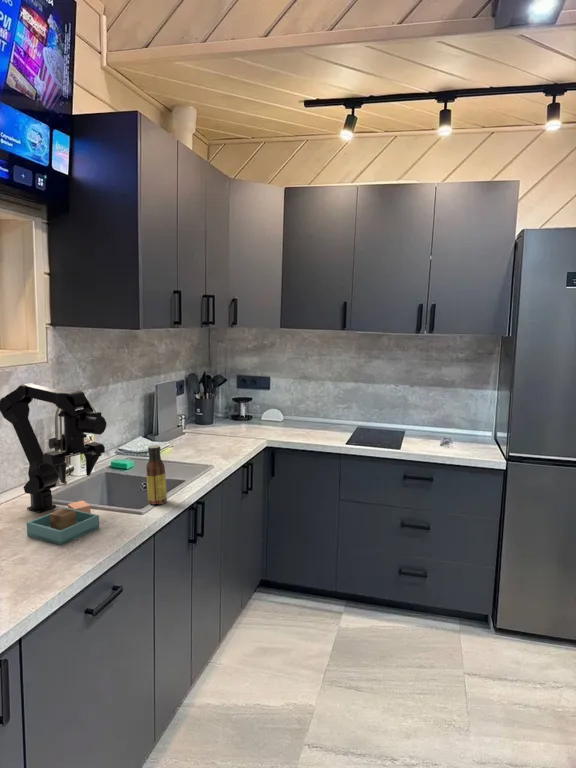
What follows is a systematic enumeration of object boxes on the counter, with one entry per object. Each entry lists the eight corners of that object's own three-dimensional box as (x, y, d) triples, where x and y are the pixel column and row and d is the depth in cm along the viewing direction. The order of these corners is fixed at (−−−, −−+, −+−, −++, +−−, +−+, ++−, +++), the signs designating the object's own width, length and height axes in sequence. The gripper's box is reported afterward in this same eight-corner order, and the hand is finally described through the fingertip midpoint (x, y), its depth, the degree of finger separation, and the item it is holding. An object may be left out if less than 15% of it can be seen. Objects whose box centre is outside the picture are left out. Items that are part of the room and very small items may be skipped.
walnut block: (50, 529, 158) (49, 513, 157) (64, 524, 162) (63, 508, 162) (62, 533, 156) (61, 516, 155) (76, 527, 160) (75, 511, 159)
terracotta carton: (68, 512, 175) (67, 504, 174) (83, 509, 178) (83, 500, 178) (75, 518, 170) (74, 509, 170) (90, 514, 174) (90, 505, 173)
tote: (27, 535, 156) (26, 522, 156) (66, 519, 168) (65, 507, 168) (61, 545, 150) (60, 532, 149) (99, 528, 162) (98, 515, 162)
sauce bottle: (168, 499, 187) (167, 443, 184) (164, 506, 181) (163, 448, 178) (149, 499, 187) (148, 443, 184) (145, 506, 181) (143, 448, 178)
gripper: (84, 422, 181) (85, 467, 183) (31, 432, 165) (33, 481, 168) (105, 427, 175) (106, 473, 177) (52, 438, 159) (54, 488, 162)
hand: (75, 479), depth 171 cm, fingers open, 9 cm apart
